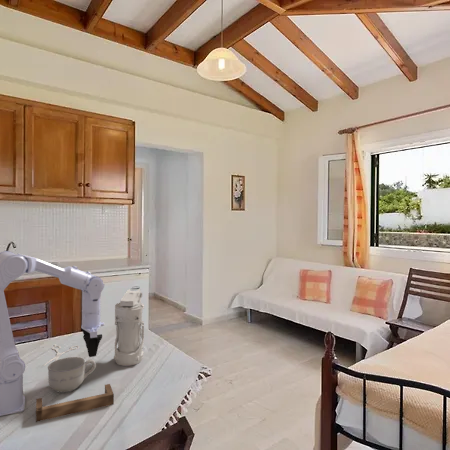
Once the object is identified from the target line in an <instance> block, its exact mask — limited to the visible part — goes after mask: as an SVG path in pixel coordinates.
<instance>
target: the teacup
mask: <svg viewBox="0 0 450 450" xmlns="http://www.w3.org/2000/svg"><path fill="white" fill-rule="evenodd" d="M89 364H92V367H91V368H90V369H89V370H88V371H86V369H87V366H88V365H89ZM96 368H97V363H96V361H95V360H94V359H88V360H85V358H82V357H78V356H72V357H71V356H69V357H64V358H59V359H58V360H56V361H55V360H53V361H51V362H50V364H48V366H47V370H48V373H47V374H48V375H47V376H48V383H49V385H48V386H49V387H50V388H51V390H54V391H55V392H58V393H68V392H71V391H74V390H77V389H78V388H79V387H80V385H82V384H83V382H84V380H86V378H88V376H89V375H91V374H92V373H93V372H94V371H95V369H96Z"/></svg>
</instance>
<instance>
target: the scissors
mask: <svg viewBox="0 0 450 450" xmlns="http://www.w3.org/2000/svg"><path fill="white" fill-rule="evenodd" d="M51 349H52V350H53V351H55V353H56V355H55V356H54V357H53V358H51V359H50V360H48V361H46V363H44V364H43V365H42V367H45V366H46V365H47V364H48V365H49V363H52V362H54V361H56V360H59V359H60V357H61V356H62V355H63V354H65V353H68V352H70V351H75V350H78V349H80V346H79V345H74V346H73V345H72V346H69V349H67V350H66V351H62V352H60V351H59V350H61V349H62V346H60V345H57V344H56V343H54V344H53V346H52V347H51Z"/></svg>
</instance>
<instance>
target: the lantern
mask: <svg viewBox="0 0 450 450" xmlns="http://www.w3.org/2000/svg"><path fill="white" fill-rule="evenodd" d="M141 290H142V289H141V288H139V289H138V288H137V289H134V288H133V289H132V288H129V289H127V290H126V292H125V293H124V294H123V296H122V297H121V299H120V302H118V303H115V304H114V305H115V306H114V325H115V328H116V330H115V331H116V333H115V335H116V336H115V337H116V338H115V342H114V356H113V360H114V361H115V363H116V364H117V365H119V366H124V367H125V366H127V367H128V366H134V365H138V364H140V363H141V362H142V361H143V359H144V353H145V352H144V351H143V348H144V344H145V343H144V342H145V338H144V337H145V336H144V335H145V321H143V310H144V309H145V304H144V303H143V302H142V297H143V292H142V291H141Z"/></svg>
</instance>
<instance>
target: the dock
mask: <svg viewBox="0 0 450 450" xmlns="http://www.w3.org/2000/svg"><path fill="white" fill-rule="evenodd" d="M114 396H115V393H114V390H113V389H112V385H111V383H107V384H104V393H100V394H97V395H93V396H87V397H81V398H78V399H74V400H69V401H68V400H67V401H63V402H60V403H55V404H50V405H45V406H43V397H38V398H36V399H35V400H36V401H35V423H38V422H43V421H47V420H51V419H55V418H56V419H57V418H61V417H65V416H69V415H72V414H74V415H75V414H76V413H82V412H87V411H90V410H94V409H99V408H103V407H108V406H113V405H115V402H114V398H115V397H114Z"/></svg>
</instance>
